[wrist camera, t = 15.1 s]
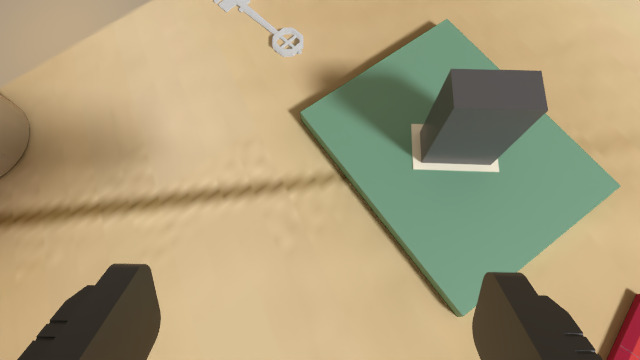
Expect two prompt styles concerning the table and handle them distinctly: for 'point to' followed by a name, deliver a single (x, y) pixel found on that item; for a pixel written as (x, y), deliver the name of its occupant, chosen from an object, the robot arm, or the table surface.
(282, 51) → the key
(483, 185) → the header board
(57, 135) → the table surface
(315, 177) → the table surface
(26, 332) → the table surface
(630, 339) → the red board with handle
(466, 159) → the block
